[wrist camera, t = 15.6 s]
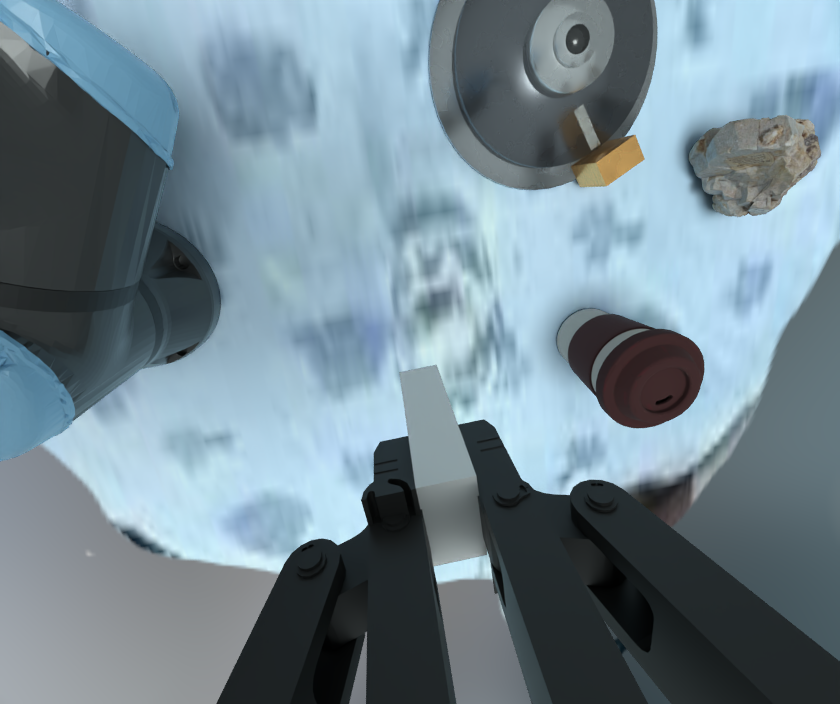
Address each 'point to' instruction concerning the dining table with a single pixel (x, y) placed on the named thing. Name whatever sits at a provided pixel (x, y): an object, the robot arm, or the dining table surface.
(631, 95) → the turntable
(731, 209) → the rock
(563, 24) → the cover
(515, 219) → the dining table surface
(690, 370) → the coffee cup
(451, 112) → the turntable base
